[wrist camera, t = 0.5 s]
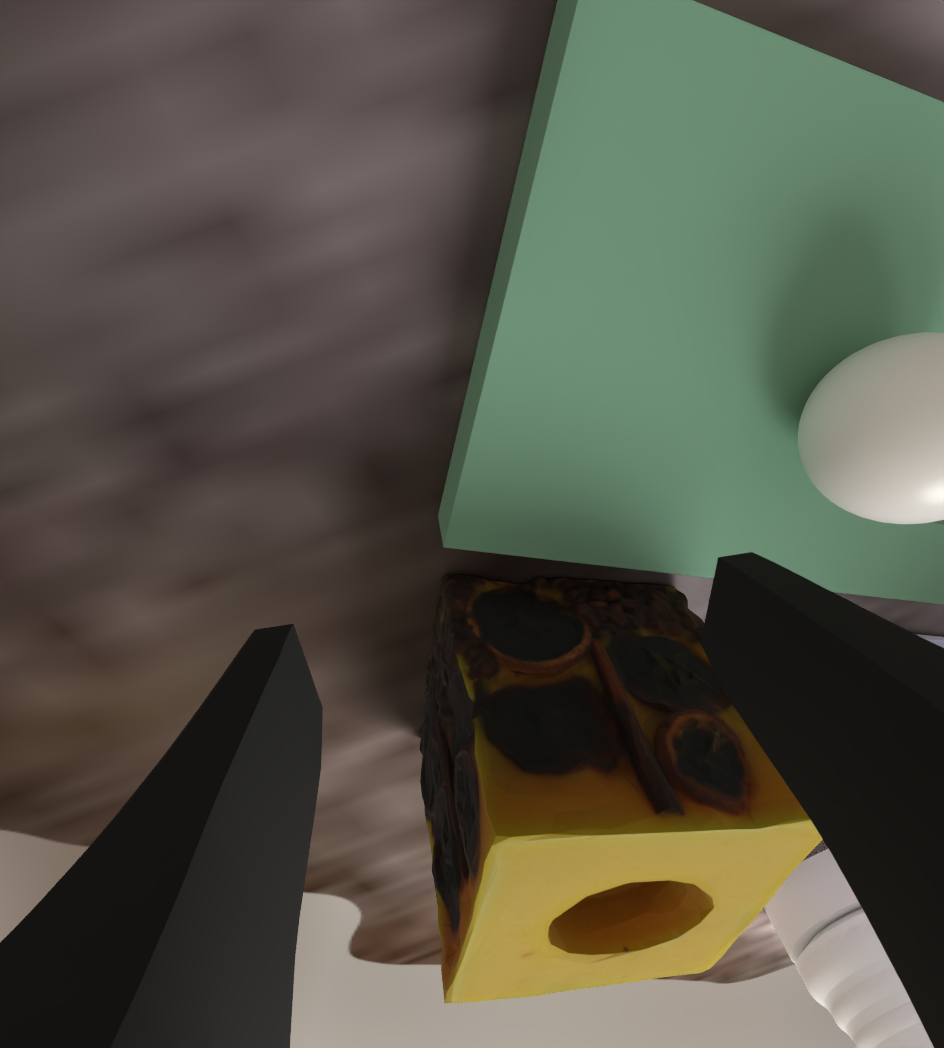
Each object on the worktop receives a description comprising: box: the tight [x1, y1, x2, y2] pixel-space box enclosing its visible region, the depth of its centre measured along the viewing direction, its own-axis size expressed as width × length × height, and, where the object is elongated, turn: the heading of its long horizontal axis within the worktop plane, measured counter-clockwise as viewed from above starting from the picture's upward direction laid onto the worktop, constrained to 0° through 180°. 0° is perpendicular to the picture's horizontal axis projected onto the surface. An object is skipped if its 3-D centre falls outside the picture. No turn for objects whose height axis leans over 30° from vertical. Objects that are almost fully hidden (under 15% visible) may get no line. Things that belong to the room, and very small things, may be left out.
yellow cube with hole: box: [419, 575, 823, 1003], centre depth 20 cm, size 10×10×10 cm
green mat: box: [438, 0, 944, 605], centre depth 18 cm, size 24×14×2 cm, turn 77°
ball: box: [798, 332, 944, 524], centre depth 15 cm, size 5×5×5 cm
